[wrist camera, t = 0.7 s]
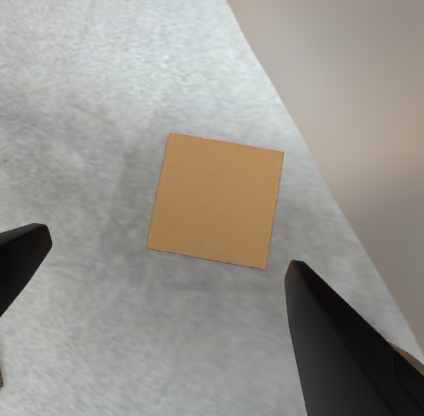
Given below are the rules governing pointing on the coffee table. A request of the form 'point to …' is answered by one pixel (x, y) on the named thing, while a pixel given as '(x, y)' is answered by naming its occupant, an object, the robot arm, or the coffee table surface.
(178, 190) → the coaster
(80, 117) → the coffee table surface
